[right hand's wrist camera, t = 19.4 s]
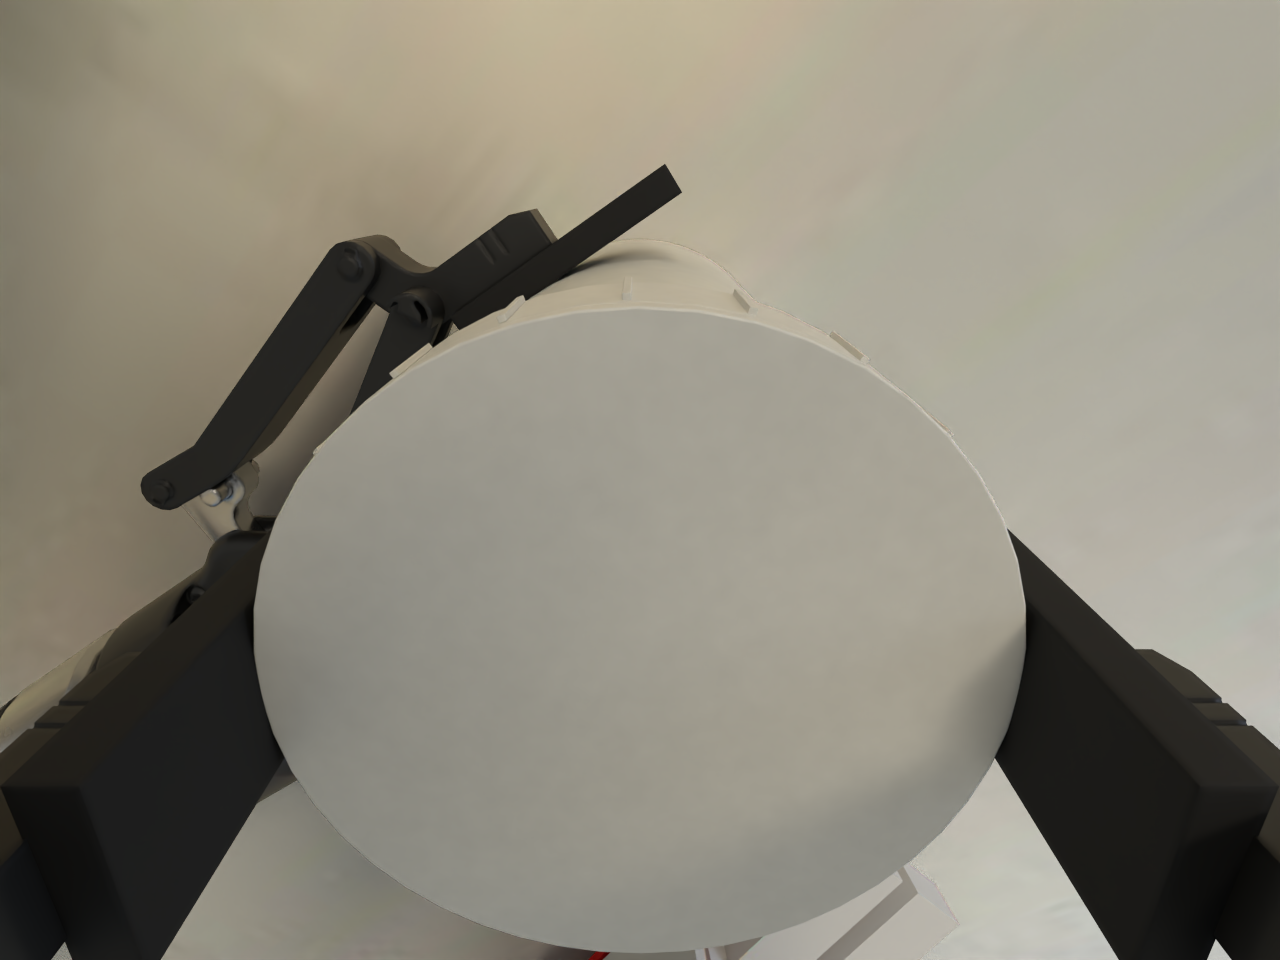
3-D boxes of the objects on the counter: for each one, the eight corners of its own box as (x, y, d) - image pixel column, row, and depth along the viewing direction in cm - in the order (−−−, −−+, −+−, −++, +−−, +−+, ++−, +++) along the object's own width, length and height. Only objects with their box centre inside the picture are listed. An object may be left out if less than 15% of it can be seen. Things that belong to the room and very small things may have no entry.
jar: (510, 488, 29) (345, 882, 13) (508, 230, 26) (272, 320, 9) (754, 500, 29) (898, 904, 13) (785, 247, 26) (1040, 364, 9)
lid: (1083, 382, 11) (1183, 428, 9) (829, 890, 15) (860, 1004, 13) (355, 184, 10) (281, 185, 8) (289, 787, 14) (228, 892, 12)
